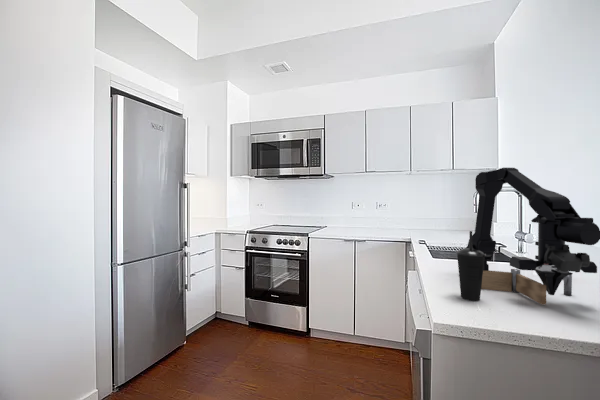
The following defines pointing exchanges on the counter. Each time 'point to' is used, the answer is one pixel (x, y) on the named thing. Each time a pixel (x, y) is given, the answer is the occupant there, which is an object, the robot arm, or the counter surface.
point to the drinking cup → (470, 271)
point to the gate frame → (512, 281)
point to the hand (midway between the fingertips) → (551, 294)
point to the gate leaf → (531, 289)
